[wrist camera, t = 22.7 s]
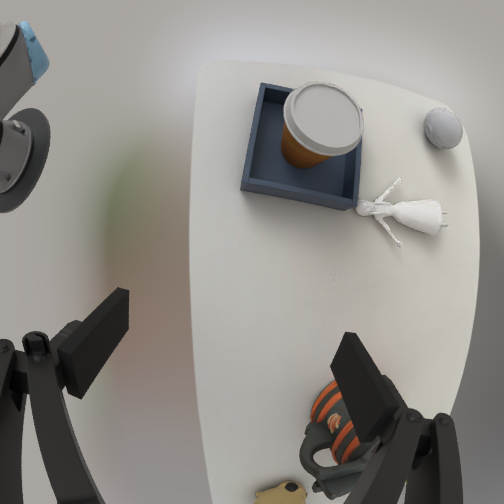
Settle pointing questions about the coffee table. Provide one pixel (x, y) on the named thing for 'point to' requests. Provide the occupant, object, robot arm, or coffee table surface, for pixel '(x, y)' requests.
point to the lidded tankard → (334, 445)
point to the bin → (286, 175)
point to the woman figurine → (405, 213)
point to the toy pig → (283, 494)
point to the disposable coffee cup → (319, 124)
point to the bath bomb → (443, 128)
